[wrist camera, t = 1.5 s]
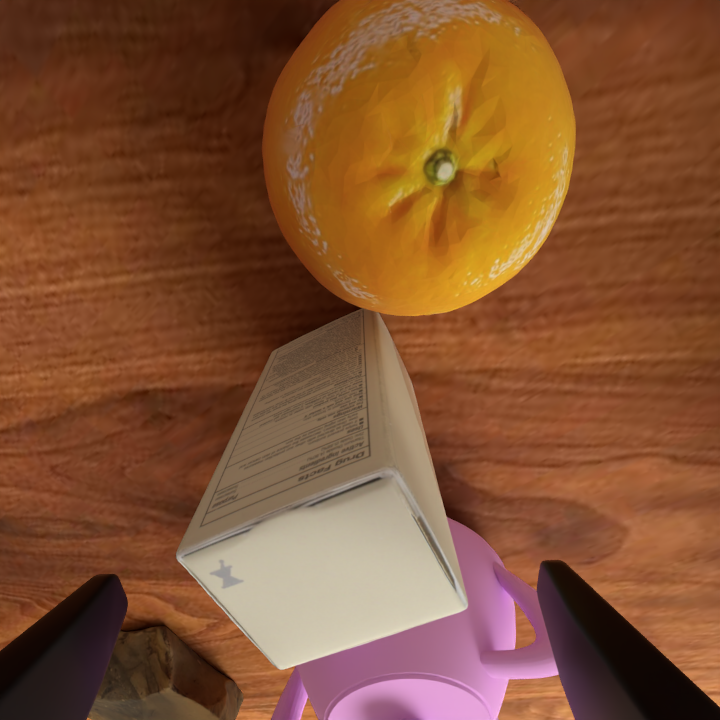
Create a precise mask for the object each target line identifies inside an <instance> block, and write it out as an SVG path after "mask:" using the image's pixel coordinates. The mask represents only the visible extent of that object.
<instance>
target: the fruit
mask: <svg viewBox="0 0 720 720" xmlns="http://www.w3.org/2000/svg"><path fill="white" fill-rule="evenodd" d="M575 138H576V123H575V117H574V112H573V106H572V101H571V97H570V94H569V90H568V87H567V84H566V82H565V79H564V76H563V73H562V70H561V67H560V65H559V63H558V60H557V58H556V56H555V54H554V52H553V50H552V48H551V47H550V45H549V43H548V41H547V40H546V38H545V36H544V35H543V33H542V32H541V31H540V29H539V28H538V27H537V26H536V25H535V24H534V22H533V21H532V20H531V19H530V18H529V17H528V16H526V15H525V14H524V13H523V12H522V11H521V10H520V9H518V8H517V7H516V6H515V5H513V4H512V3H511V2H509V1H508V0H340V1H338V2H337V3H336V4H335V5H333V6H332V7H331V8H330V9H329V10H328V11H327V12H326V13H325V14H324V15H323V16H322V17H321V18H320V19H319V21H318V22H317V23H316V24H315V25H314V27H313V28H312V29H311V31H310V32H309V33H308V34H307V36H306V37H305V38H304V40H303V41H302V42H301V44H300V45H299V46H298V48H297V49H296V50H295V52H294V53H293V55H292V56H291V58H290V59H289V61H288V62H287V64H286V65H285V67H284V68H283V70H282V72H281V74H280V76H279V78H278V80H277V82H276V84H275V86H274V89H273V92H272V95H271V98H270V101H269V104H268V107H267V113H266V118H265V122H264V132H263V142H262V156H263V163H264V175H265V182H266V186H267V191H268V196H269V200H270V204H271V207H272V210H273V213H274V216H275V218H276V221H277V223H278V225H279V228H280V230H281V232H282V234H283V236H284V238H285V239H286V241H287V242H288V244H289V245H290V247H291V248H292V250H293V251H294V253H295V254H296V256H297V257H298V258H299V260H300V261H301V262H302V264H303V265H304V266H305V267H306V269H307V270H308V271H309V272H310V273H311V274H312V275H313V276H314V278H315V279H316V280H317V281H318V282H319V283H320V284H322V285H323V286H324V287H325V288H326V289H328V290H329V291H330V292H332V293H333V294H335V295H336V296H338V297H340V298H341V299H343V300H345V301H346V302H348V303H351V304H353V305H355V306H358V307H360V308H364V309H367V310H371V311H375V312H379V313H384V314H390V315H398V316H418V315H430V314H438V313H445V312H449V311H452V310H455V309H458V308H460V307H463V306H465V305H468V304H470V303H472V302H474V301H476V300H478V299H480V298H481V297H483V296H485V295H487V294H488V293H490V292H491V291H493V290H495V289H496V288H498V287H499V286H501V285H502V284H504V283H505V282H507V281H508V280H509V279H510V278H512V277H513V276H515V275H516V274H517V273H518V272H519V271H520V270H521V269H522V268H523V267H524V266H525V265H526V264H527V263H528V262H529V261H530V260H531V259H532V258H533V256H534V255H535V254H536V253H537V252H538V250H539V249H540V247H541V246H542V244H543V243H544V242H545V240H546V239H547V237H548V235H549V233H550V231H551V229H552V227H553V225H554V223H555V221H556V219H557V217H558V214H559V212H560V210H561V207H562V205H563V202H564V199H565V196H566V194H567V191H568V187H569V182H570V176H571V172H572V166H573V158H574V152H575Z"/></svg>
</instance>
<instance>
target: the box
mask: <svg viewBox="0 0 720 720" xmlns="http://www.w3.org/2000/svg"><path fill="white" fill-rule="evenodd" d="M176 558H177V560H178V561H179V562H180V563H181V564H182V565H183V566H184V567H185V568H186V569H187V570H188V572H189V573H190V574H191V575H192V576H193V577H194V578H195V579H196V580H197V581H198V583H199V584H200V585H201V586H202V587H203V589H204V590H205V591H206V592H207V593H208V594H209V595H210V596H211V598H212V599H213V600H214V601H215V602H216V603H217V604H218V605H219V606H220V607H221V608H222V610H223V611H224V612H225V613H226V614H227V615H228V616H229V618H230V619H231V620H232V621H233V622H234V623H235V624H236V625H237V626H238V627H239V628H240V629H241V630H242V632H243V633H244V634H245V635H246V636H247V637H248V638H249V639H250V640H251V641H252V642H253V643H254V644H255V645H256V646H257V647H258V648H259V649H260V651H261V652H262V653H263V654H264V655H265V656H266V657H267V658H268V659H269V661H270V662H271V663H272V664H273V665H274V666H275V667H277V668H278V669H281V670H283V669H287V668H290V667H293V666H296V665H299V664H302V663H305V662H308V661H311V660H315V659H318V658H321V657H325V656H328V655H331V654H334V653H337V652H340V651H343V650H346V649H350V648H353V647H356V646H359V645H362V644H366V643H369V642H372V641H374V640H377V639H380V638H383V637H387V636H390V635H393V634H396V633H399V632H402V631H404V630H407V629H410V628H413V627H416V626H419V625H422V624H425V623H428V622H431V621H434V620H437V619H440V618H443V617H447V616H450V615H453V614H456V613H459V612H461V611H463V610H465V609H467V607H468V599H467V595H466V591H465V587H464V583H463V579H462V575H461V571H460V567H459V563H458V559H457V555H456V551H455V548H454V544H453V540H452V536H451V532H450V528H449V524H448V521H447V517H446V513H445V509H444V505H443V502H442V498H441V494H440V490H439V486H438V482H437V479H436V475H435V471H434V467H433V463H432V459H431V455H430V452H429V448H428V444H427V440H426V436H425V432H424V429H423V425H422V421H421V416H420V412H419V408H418V404H417V400H416V396H415V393H414V389H413V385H412V382H411V380H410V377H409V375H408V373H407V370H406V368H405V366H404V364H403V361H402V359H401V357H400V355H399V353H398V351H397V348H396V346H395V344H394V342H393V340H392V338H391V336H390V334H389V332H388V330H387V328H386V326H385V324H384V322H383V320H382V318H381V316H380V314H379V312H375V311H371V310H367V309H364V308H362V309H359V310H357V311H355V312H352V313H350V314H348V315H345V316H343V317H341V318H339V319H337V320H334V321H332V322H330V323H328V324H326V325H324V326H322V327H320V328H318V329H316V330H314V331H312V332H310V333H308V334H305V335H303V336H301V337H299V338H297V339H295V340H293V341H291V342H289V343H288V344H285V345H284V346H282V347H280V348H278V349H276V350H274V351H272V353H271V355H270V357H269V359H268V361H267V363H266V365H265V367H264V370H263V372H262V374H261V376H260V378H259V380H258V382H257V384H256V386H255V388H254V391H253V392H252V395H251V397H250V399H249V401H248V403H247V405H246V407H245V409H244V411H243V413H242V416H241V418H240V420H239V422H238V424H237V426H236V428H235V430H234V432H233V434H232V436H231V438H230V441H229V443H228V445H227V447H226V449H225V451H224V453H223V455H222V457H221V459H220V462H219V464H218V466H217V468H216V470H215V472H214V474H213V476H212V479H211V481H210V483H209V485H208V487H207V489H206V491H205V493H204V495H203V497H202V499H201V501H200V503H199V505H198V508H197V510H196V512H195V514H194V516H193V518H192V520H191V522H190V524H189V526H188V529H187V531H186V533H185V535H184V537H183V539H182V541H181V543H180V545H179V548H178V550H177V552H176Z"/></svg>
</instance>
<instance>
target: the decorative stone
mask: <svg viewBox="0 0 720 720" xmlns="http://www.w3.org/2000/svg"><path fill="white" fill-rule="evenodd" d="M242 702H243V694H242V692H241V690H240V689H239V688H238V687H237V685H236V683H235V682H234V681H233V680H231V679H229V678H227V677H226V676H224V675H223V674H221V673H220V672H218V671H217V670H215V669H214V668H213V667H212V666H210V665H209V664H208V663H207V662H205V661H204V660H203V659H201V658H200V657H199V656H198V655H197V654H196V653H195V652H194V651H193V650H191V649H190V648H189V647H188V646H187V645H186V644H185V643H184V642H183V641H181V640H180V639H179V638H178V637H177V636H176V635H175V634H174V633H173V632H172V631H170V630H169V629H168V628H167V627H165V626H159V627H151V628H148V629H144V630H139V631H132V632H124V631H121V630H120V632H119V635H118V638H117V641H116V644H115V647H114V650H113V653H112V655H111V658H110V661H109V664H108V667H107V670H106V673H105V676H104V679H103V681H102V684H101V687H100V689H99V692H98V694H97V697H96V699H95V701H94V704H93V706H92V708H91V710H90V713H89V715H88V718H89V719H91V720H235V719H236V717H237V715H238V712H239V708H240V706H241V704H242Z"/></svg>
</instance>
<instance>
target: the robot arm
mask: <svg viewBox="0 0 720 720" xmlns="http://www.w3.org/2000/svg"><path fill="white" fill-rule="evenodd" d="M537 596H538V601H539V605H540V608H541V612H542V615H543V619H544V623H545V626H546V630H547V633H548V637H549V641H550V644H551V648H552V651H553V655H554V659H555V662H556V666H557V669H558V673H559V676H560V680H561V683H562V686H563V688H564V691H565V694H566V697H567V699H568V702H569V705H570V707H571V710H572V712H573V715H574V718H575V720H720V707H719V706H718V705H717V704H716V703H715V702H714V701H712V700H711V699H710V698H709V697H708V696H707V695H706V694H705V693H704V692H703V691H702V690H701V689H700V688H699V687H697V686H696V685H695V684H694V683H693V682H692V681H691V680H690V679H689V678H688V677H687V676H686V675H685V674H684V673H683V672H681V671H680V670H679V669H678V668H677V667H676V666H675V665H674V664H673V663H672V662H671V661H670V660H669V659H668V658H666V657H665V656H664V655H663V654H662V653H661V652H660V651H659V650H658V649H657V648H656V647H655V646H654V645H653V644H651V643H650V642H649V641H648V640H647V639H646V638H645V637H644V636H643V635H642V634H641V633H640V632H639V631H638V630H637V629H635V628H634V627H633V626H632V625H631V624H630V623H629V622H628V621H627V620H626V619H625V618H624V617H623V616H622V615H620V614H619V613H618V612H617V611H616V610H615V609H614V608H613V607H612V606H611V605H610V604H609V603H608V602H607V601H605V600H604V599H603V598H602V597H601V596H600V595H599V594H598V593H597V592H596V591H595V590H594V589H593V588H592V587H591V586H589V585H588V584H587V583H586V582H585V581H584V580H583V579H582V578H581V577H580V576H579V575H578V574H577V573H576V572H574V571H573V570H572V569H571V568H570V567H569V566H568V565H567V564H566V563H565V562H563V561H561V560H545V561H542V563H541V565H540V570H539V577H538V584H537ZM127 607H128V601H127V597H126V594H125V592H124V590H123V587H122V585H121V582H120V580H119V578H118V576H117V575H115V574H99V575H96V576H94V577H92V578H91V579H90V580H88V581H87V582H86V583H85V584H83V585H82V586H81V587H80V588H78V589H77V590H76V591H75V592H73V593H72V594H71V595H70V596H68V597H67V598H66V599H65V600H63V601H62V602H61V603H60V604H58V605H57V606H56V607H55V608H53V609H52V610H51V611H50V612H48V613H47V614H46V615H45V616H43V617H42V618H41V619H40V620H38V621H37V622H36V623H35V624H33V625H32V626H31V627H30V628H28V629H27V630H26V631H25V632H23V633H22V634H21V635H20V636H18V637H17V638H16V639H15V640H13V641H12V642H11V643H10V644H8V645H7V646H6V647H5V648H3V649H2V650H1V651H0V720H86V719H87V717H88V715H89V713H90V710H91V708H92V706H93V704H94V701H95V699H96V697H97V694H98V692H99V689H100V687H101V684H102V681H103V679H104V676H105V673H106V670H107V667H108V664H109V661H110V658H111V655H112V653H113V650H114V647H115V644H116V641H117V638H118V635H119V632H120V629H121V626H122V624H123V621H124V618H125V615H126V612H127Z"/></svg>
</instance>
